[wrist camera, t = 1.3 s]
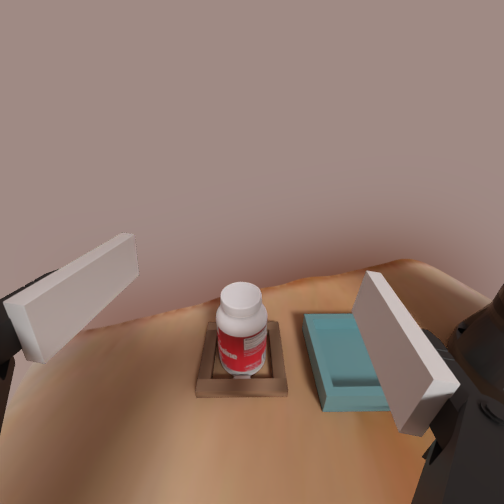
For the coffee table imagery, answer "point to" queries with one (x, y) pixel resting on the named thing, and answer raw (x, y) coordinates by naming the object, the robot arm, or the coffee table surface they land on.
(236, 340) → the pill bottle
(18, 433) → the coffee table surface
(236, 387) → the bottle holder
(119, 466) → the coffee table surface
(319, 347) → the tray
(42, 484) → the coffee table surface
